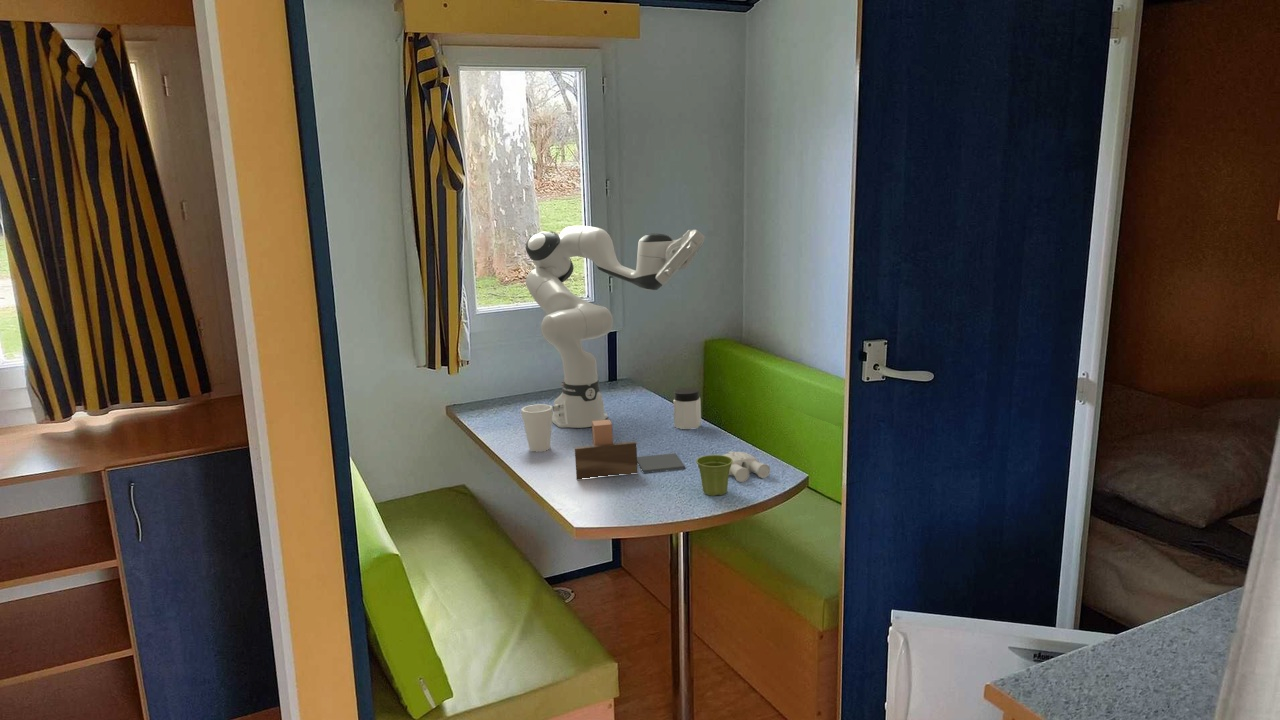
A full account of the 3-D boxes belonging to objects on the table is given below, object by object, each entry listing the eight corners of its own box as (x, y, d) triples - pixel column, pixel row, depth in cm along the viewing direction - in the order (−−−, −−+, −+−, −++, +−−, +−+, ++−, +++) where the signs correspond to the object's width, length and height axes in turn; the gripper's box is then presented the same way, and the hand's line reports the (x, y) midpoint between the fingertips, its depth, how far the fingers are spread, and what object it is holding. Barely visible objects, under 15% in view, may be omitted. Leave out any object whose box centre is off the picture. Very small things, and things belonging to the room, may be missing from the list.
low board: (576, 478, 248) (574, 447, 246) (636, 472, 251) (635, 441, 249) (577, 480, 247) (575, 449, 245) (637, 473, 249) (636, 443, 248)
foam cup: (521, 447, 278) (517, 406, 276) (549, 442, 282) (546, 402, 279) (529, 455, 270) (526, 414, 267) (558, 450, 273) (556, 409, 271)
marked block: (594, 468, 256) (591, 421, 253) (611, 466, 257) (609, 419, 254) (597, 474, 251) (594, 426, 248) (614, 472, 252) (612, 424, 249)
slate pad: (635, 459, 262) (635, 457, 261) (675, 455, 264) (675, 453, 263) (643, 473, 250) (642, 470, 250) (684, 468, 252) (684, 466, 252)
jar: (706, 426, 291) (705, 390, 289) (688, 431, 286) (686, 395, 284) (687, 421, 298) (686, 386, 296) (669, 426, 293) (668, 390, 291)
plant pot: (708, 483, 240) (707, 452, 238) (739, 489, 234) (739, 457, 233) (690, 494, 232) (689, 462, 230) (722, 500, 227) (721, 468, 225)
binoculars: (736, 484, 239) (736, 467, 238) (710, 466, 254) (710, 451, 253) (770, 478, 243) (770, 461, 242) (743, 461, 257) (743, 445, 256)
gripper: (650, 273, 291) (650, 278, 277) (692, 225, 288) (694, 228, 274) (665, 286, 292) (666, 291, 278) (707, 238, 288) (710, 241, 275)
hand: (680, 259), depth 276 cm, fingers open, 8 cm apart
